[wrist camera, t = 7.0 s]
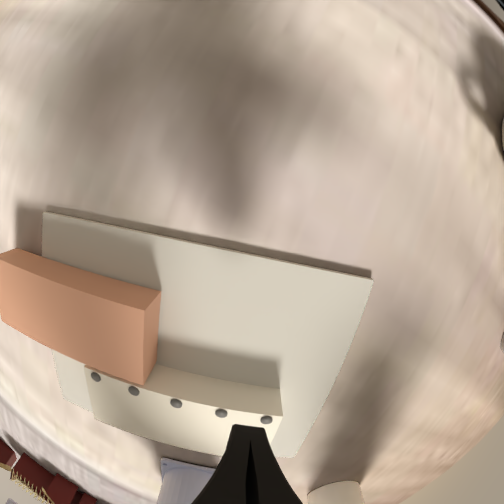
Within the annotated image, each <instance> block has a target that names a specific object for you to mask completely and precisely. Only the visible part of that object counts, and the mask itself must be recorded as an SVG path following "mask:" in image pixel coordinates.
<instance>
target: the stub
mask: <svg viewBox="0 0 504 504" xmlns="http://www.w3.org/2000/svg"><path fill="white" fill-rule="evenodd" d="M160 301H161V291H158V290H154V289H150V288H146V287H142V286H139V285H135V284H131V283H127V282H124V281H120V280H116V279H113V278H109V277H106V276H102V275H99V274H95V273H92V272H89V271H85V270H82V269H79V268H75V267H72V266H69V265H66V264H63V263H60V262H57V261H53V260H50V259H47V258H44V257H41V256H39V255H36V254H33V253H30V252H27V251H24V250H21V249H19V248H16V249H13V250H10V251H7V252H4V253H1V254H0V313H1V319H2V321H3V322H5V323H6V324H8V325H9V326H11V327H13V328H14V329H16V330H18V331H19V332H21V333H23V334H25V335H26V336H28V337H30V338H32V339H34V340H35V341H37V342H39V343H41V344H43V345H45V346H47V347H49V348H51V349H53V350H55V351H57V352H59V353H61V354H63V355H65V356H68V357H70V358H72V359H74V360H76V361H79V362H81V363H83V364H86V365H88V366H90V367H93V368H95V369H98V370H100V371H103V372H106V373H108V374H111V375H114V376H116V377H119V378H122V379H125V380H128V381H131V382H134V383H137V384H140V385H143V386H144V384H145V382H146V380H147V378H148V376H149V374H150V372H151V371H152V369H153V367H154V365H155V363H156V361H157V346H158V328H159V314H160Z"/></svg>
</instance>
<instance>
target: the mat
mask: <svg viewBox="0 0 504 504" xmlns="http://www.w3.org/2000/svg"><path fill="white" fill-rule="evenodd" d="M42 257H44V258H47V259H50V260H53V261H57V262H60V263H63V264H66V265H69V266H72V267H75V268H79V269H82V270H85V271H89V272H92V273H95V274H99V275H102V276H106V277H109V278H113V279H116V280H120V281H124V282H127V283H131V284H135V285H139V286H142V287H146V288H150V289H154V290H158V291H161V301H160V314H159V328H158V346H157V361H156V363H155V364H158V365H162V366H166V367H169V368H173V369H177V370H181V371H185V372H189V373H193V374H198V375H202V376H207V377H211V378H216V379H221V380H226V381H232V382H237V383H243V384H249V385H256V386H263V387H270V388H278V389H280V393H281V402H282V411H283V418H282V420H281V422H280V425H279V427H278V429H277V431H276V433H275V436H274V438H273V440H272V442H271V444H270V446H271V449H272V451H273V454H274V456H275V457H285V458H294V457H295V455H296V453H297V452H298V450H299V448H300V447H301V445H302V443H303V442H304V440H305V438H306V436H307V435H308V433H309V431H310V429H311V427H312V426H313V424H314V422H315V420H316V418H317V416H318V414H319V413H320V411H321V409H322V407H323V405H324V403H325V401H326V399H327V397H328V395H329V393H330V391H331V389H332V387H333V384H334V382H335V380H336V378H337V376H338V374H339V371H340V369H341V367H342V365H343V362H344V360H345V358H346V355H347V353H348V351H349V348H350V346H351V343H352V341H353V338H354V336H355V333H356V331H357V328H358V326H359V323H360V320H361V317H362V315H363V312H364V309H365V306H366V303H367V301H368V298H369V295H370V292H371V289H372V286H373V282H374V280H373V279H372V278H368V277H363V276H358V275H353V274H348V273H344V272H339V271H334V270H329V269H324V268H319V267H314V266H309V265H304V264H299V263H294V262H290V261H285V260H280V259H275V258H270V257H265V256H260V255H255V254H250V253H246V252H241V251H236V250H231V249H226V248H221V247H216V246H212V245H207V244H202V243H197V242H192V241H187V240H182V239H178V238H173V237H168V236H163V235H158V234H153V233H148V232H144V231H139V230H134V229H129V228H124V227H120V226H115V225H110V224H105V223H100V222H95V221H91V220H86V219H81V218H76V217H71V216H67V215H62V214H57V213H52V212H48V211H46V212H43V219H42ZM51 350H52V355H53V359H54V364H55V368H56V372H57V376H58V380H59V384H60V388H61V391H62V395H63V398H64V399H65V400H67V401H69V402H71V403H73V404H75V405H77V406H79V407H81V408H83V409H86V410H88V411H90V412H92V413H93V410H92V406H91V401H90V397H89V392H88V387H87V382H86V377H85V371H84V366H85V365H86V364H83V363H81V362H79V361H76V360H74V359H72V358H70V357H68V356H65V355H63V354H61V353H59V352H57V351H55V350H53V349H51Z"/></svg>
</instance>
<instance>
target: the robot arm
mask: <svg viewBox="0 0 504 504" xmlns="http://www.w3.org/2000/svg"><path fill="white" fill-rule="evenodd" d="M161 474H162V486H161V490H160V493H159V497H158V500H157V504H303V503H302V502H301V501H300V499H299V498H298V497H297V495H296V494H295V492H294V491H293V489H292V488H291V486H290V485H289V483H288V481H287V480H286V478H285V476H284V475H283V473H282V471H281V469H280V467H279V465H278V463H277V460H276V458H275V456H274V454H273V451H272V449H271V446H270V443H269V441H268V438H267V434H266V431H265V429H264V428H262V427H254V426H246V425H240V424H234V425H232V428H231V432H230V435H229V439H228V442H227V446H226V450H225V452H224V454H223V457H222V459H221V461H220V463H219V464H218V466H217V468H216V469H213V468H208V467H202V466H197V465H193V464H188V463H184V462H180V461H175V460H172V459H168V458H161ZM6 504H17V503H15V502H14V501H13V500H12V499H8V500H7V502H6Z"/></svg>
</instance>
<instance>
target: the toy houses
mask: <svg viewBox="0 0 504 504" xmlns="http://www.w3.org/2000/svg"><path fill="white" fill-rule="evenodd" d="M16 459H17V458H16V455H15V452H14V451H13V450H12V449H11V448H9V447H8V446H7V445H6V444H5V443H4V442H3V441H2V440H1V439H0V467H1V468H4V469H5V470H8V471H11V478H10V479H11V480H12V481H13V480H17V479H18V480H19V481H20V482H21V483H23V486H24V485H25V486H26V488H29V489H30V490H31V491H33V492H34V493H35V495H36V494H37V495H39V496H40V497H41V498H43V499H44V501H45V500H46V501H47V503H46V504H48V503H50V504H95V503H96V501H97V499H95V498H93V497H92V496H90V495H88V494H86V493H85V492H84V494H82V493H81V492H79V491H77V489H78V486H76V485H75V484H73V483H72V482H70V481H68V480H67V479H65V478H64V477H62V476H61V475H59V474H58V473H57V474H56V476H54V475H53V474H51V473H50V472H48V471H47V470H46V469H44V468H43V467H42V466H40V465H39V464H38V463H36V462H35V461H34V460H33V459H31V458H30V457H29V456H28V455H26V454H25V453H23V455H22V456H21V457H20V459H19V460H18V462H17V463H16V465H15V466H14V467H13V469H11V467H12V465H13V464H14V462H15V461H16ZM20 482H18V483H20ZM15 484H16V482H15ZM19 486H22V485H20V484H19ZM23 489H25V488H23ZM30 490H29V491H30ZM26 492H28V491H26ZM32 494H33V493H32ZM30 495H31V493H30ZM34 497H36V496H34ZM40 497H38V499H39V498H40ZM44 501H42V503H43V502H44Z"/></svg>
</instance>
